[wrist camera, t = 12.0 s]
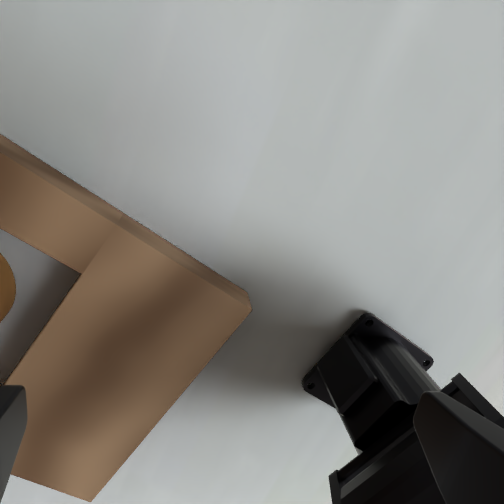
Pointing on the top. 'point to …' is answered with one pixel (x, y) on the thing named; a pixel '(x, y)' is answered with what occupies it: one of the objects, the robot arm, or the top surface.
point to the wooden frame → (105, 328)
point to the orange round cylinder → (6, 288)
